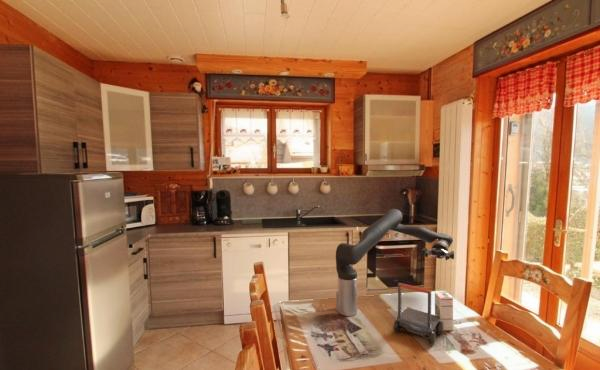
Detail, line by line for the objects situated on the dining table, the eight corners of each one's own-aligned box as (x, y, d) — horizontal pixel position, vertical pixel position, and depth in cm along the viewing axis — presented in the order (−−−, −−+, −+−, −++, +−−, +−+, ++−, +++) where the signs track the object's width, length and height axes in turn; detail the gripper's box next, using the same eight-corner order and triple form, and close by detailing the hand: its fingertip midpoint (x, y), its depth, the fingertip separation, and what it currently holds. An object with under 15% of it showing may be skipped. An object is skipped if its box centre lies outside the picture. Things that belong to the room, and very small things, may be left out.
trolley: (393, 333, 124) (393, 283, 123) (407, 320, 136) (407, 274, 135) (431, 347, 114) (432, 293, 113) (443, 331, 126) (443, 282, 125)
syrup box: (453, 330, 126) (454, 297, 126) (439, 330, 127) (439, 297, 126) (447, 323, 132) (447, 292, 131) (434, 323, 132) (434, 291, 132)
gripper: (425, 240, 157) (420, 246, 143) (455, 243, 149) (453, 250, 135) (425, 254, 157) (420, 262, 143) (455, 258, 149) (453, 267, 136)
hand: (436, 256), depth 139 cm, fingers open, 8 cm apart
